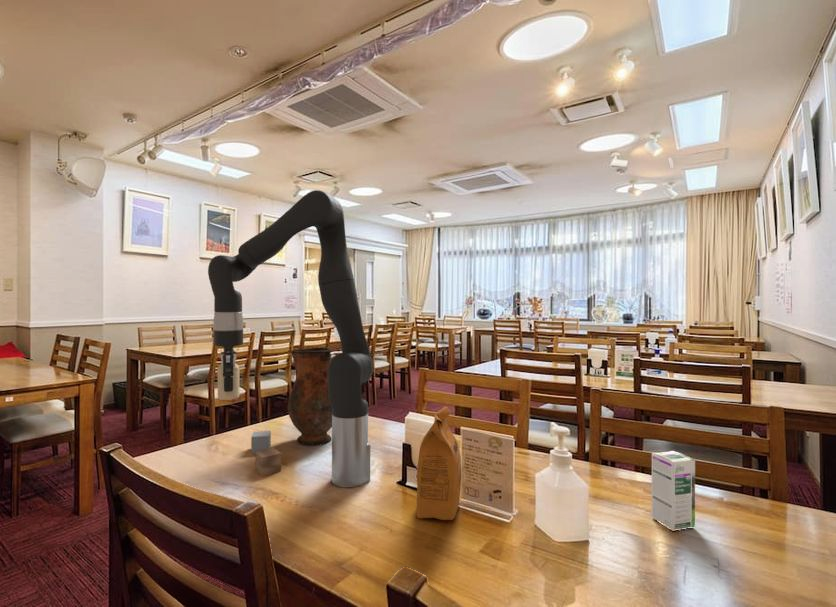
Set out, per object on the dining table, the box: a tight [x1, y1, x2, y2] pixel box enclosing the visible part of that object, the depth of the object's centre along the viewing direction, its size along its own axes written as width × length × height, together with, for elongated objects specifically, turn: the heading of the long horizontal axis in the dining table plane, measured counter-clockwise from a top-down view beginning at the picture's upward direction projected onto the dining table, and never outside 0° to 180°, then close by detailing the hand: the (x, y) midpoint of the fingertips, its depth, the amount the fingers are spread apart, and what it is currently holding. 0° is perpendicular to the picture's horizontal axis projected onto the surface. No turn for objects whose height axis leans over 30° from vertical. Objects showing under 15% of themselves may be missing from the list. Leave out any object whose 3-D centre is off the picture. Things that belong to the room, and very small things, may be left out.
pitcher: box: [287, 347, 341, 446], centre depth 137 cm, size 17×21×30 cm
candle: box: [217, 362, 240, 401], centre depth 117 cm, size 6×6×10 cm
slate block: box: [250, 430, 272, 454], centre depth 129 cm, size 5×5×5 cm
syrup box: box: [651, 450, 696, 530], centre depth 89 cm, size 6×6×14 cm
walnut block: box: [255, 447, 282, 477], centre depth 114 cm, size 5×5×5 cm
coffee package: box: [415, 406, 462, 521], centre depth 94 cm, size 10×12×22 cm
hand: (228, 388), depth 117 cm, fingers closed on candle, 5 cm apart
